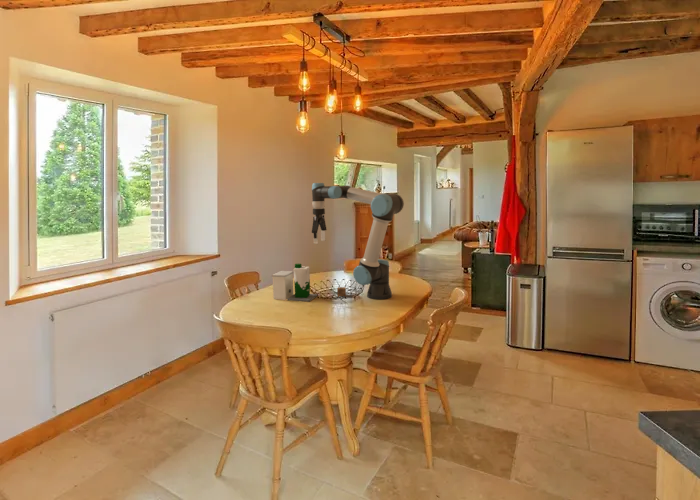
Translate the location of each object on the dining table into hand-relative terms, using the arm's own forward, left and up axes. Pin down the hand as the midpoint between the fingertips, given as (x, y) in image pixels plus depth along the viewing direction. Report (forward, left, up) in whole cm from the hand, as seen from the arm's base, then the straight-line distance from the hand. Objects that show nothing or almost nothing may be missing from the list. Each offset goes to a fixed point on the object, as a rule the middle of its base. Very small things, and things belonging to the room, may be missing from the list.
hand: (319, 242), depth 274 cm
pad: (+7, +14, -33) cm, 36 cm away
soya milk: (+7, +14, -32) cm, 35 cm away
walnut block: (-15, +4, -33) cm, 36 cm away
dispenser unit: (+20, +14, -33) cm, 41 cm away
